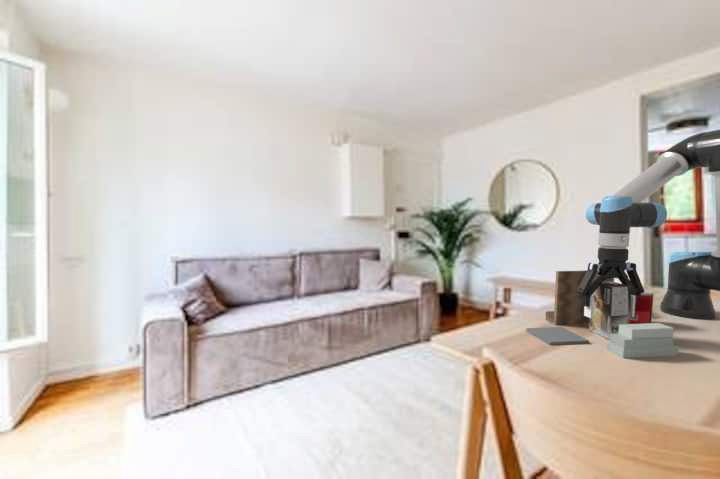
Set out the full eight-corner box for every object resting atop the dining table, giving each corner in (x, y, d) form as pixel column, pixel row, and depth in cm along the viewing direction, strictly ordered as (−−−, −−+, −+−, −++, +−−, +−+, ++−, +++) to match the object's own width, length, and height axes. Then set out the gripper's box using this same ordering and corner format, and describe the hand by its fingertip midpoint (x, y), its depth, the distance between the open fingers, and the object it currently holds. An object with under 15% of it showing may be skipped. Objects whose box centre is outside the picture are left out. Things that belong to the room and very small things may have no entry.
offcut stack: (660, 348, 99) (662, 322, 99) (678, 356, 94) (680, 328, 94) (607, 351, 98) (609, 324, 97) (623, 358, 93) (624, 330, 92)
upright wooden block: (598, 318, 126) (601, 267, 125) (611, 323, 121) (614, 270, 119) (545, 319, 124) (547, 268, 123) (555, 325, 119) (558, 271, 117)
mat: (561, 329, 115) (561, 326, 115) (589, 343, 103) (589, 340, 103) (526, 330, 113) (526, 328, 113) (549, 344, 101) (550, 342, 101)
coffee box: (630, 339, 105) (633, 286, 104) (609, 340, 105) (613, 286, 104) (606, 329, 115) (609, 280, 113) (587, 330, 114) (590, 280, 113)
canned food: (656, 327, 117) (658, 294, 116) (628, 325, 119) (631, 292, 118) (643, 319, 125) (645, 288, 124) (617, 318, 126) (619, 287, 125)
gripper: (583, 249, 103) (579, 321, 104) (662, 248, 105) (657, 318, 107) (566, 246, 110) (562, 313, 112) (640, 245, 112) (635, 311, 114)
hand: (608, 316), depth 109 cm, fingers open, 13 cm apart
